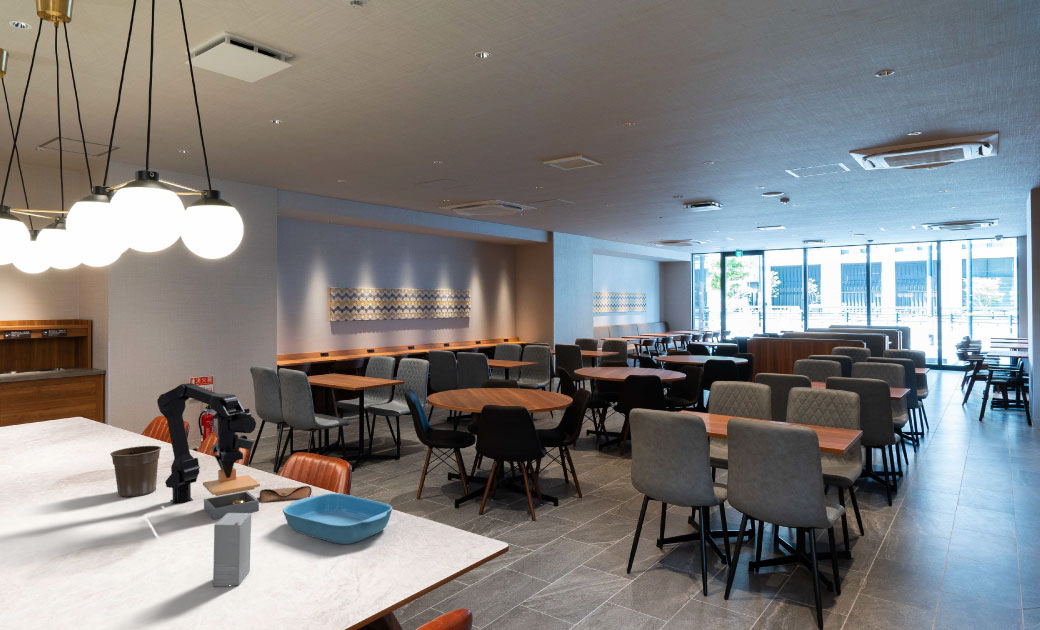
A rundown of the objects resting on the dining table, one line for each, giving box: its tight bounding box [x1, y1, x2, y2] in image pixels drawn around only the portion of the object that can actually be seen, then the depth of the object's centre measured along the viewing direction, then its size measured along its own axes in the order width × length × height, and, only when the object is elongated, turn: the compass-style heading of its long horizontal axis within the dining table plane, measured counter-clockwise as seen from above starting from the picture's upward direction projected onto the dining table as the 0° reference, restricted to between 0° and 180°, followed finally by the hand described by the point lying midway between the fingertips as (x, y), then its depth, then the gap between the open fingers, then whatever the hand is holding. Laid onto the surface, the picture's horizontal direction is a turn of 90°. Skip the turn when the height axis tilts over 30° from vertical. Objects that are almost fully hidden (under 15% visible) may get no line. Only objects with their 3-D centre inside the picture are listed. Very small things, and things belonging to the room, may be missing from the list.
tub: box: [203, 490, 260, 521], centre depth 205 cm, size 14×14×4 cm
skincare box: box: [212, 512, 252, 587], centre depth 152 cm, size 8×7×16 cm
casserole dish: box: [282, 492, 393, 545], centre depth 187 cm, size 37×22×7 cm, turn 57°
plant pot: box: [110, 445, 162, 498], centre depth 227 cm, size 16×16×16 cm
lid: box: [202, 467, 261, 497], centre depth 205 cm, size 15×15×5 cm
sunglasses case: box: [258, 485, 313, 504], centre depth 218 cm, size 18×7×7 cm
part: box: [232, 499, 245, 505], centre depth 209 cm, size 4×4×2 cm
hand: (227, 476), depth 209 cm, fingers closed on lid, 3 cm apart
